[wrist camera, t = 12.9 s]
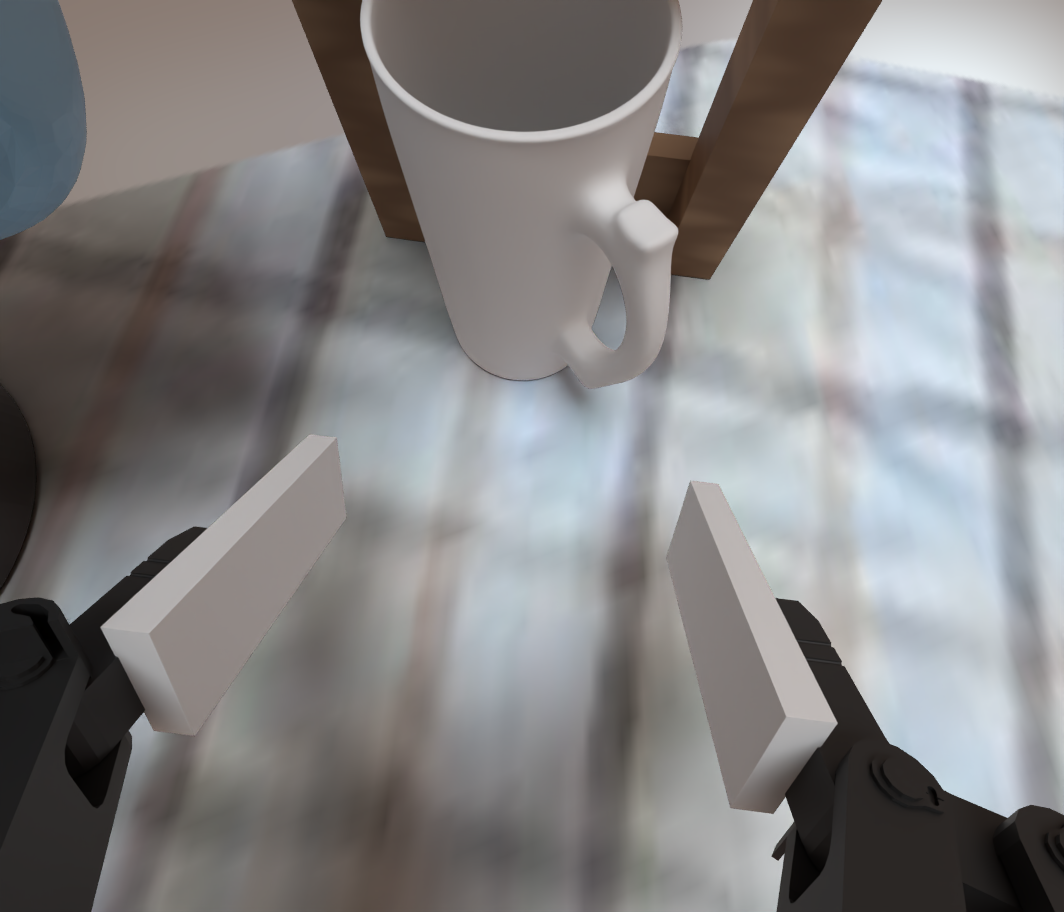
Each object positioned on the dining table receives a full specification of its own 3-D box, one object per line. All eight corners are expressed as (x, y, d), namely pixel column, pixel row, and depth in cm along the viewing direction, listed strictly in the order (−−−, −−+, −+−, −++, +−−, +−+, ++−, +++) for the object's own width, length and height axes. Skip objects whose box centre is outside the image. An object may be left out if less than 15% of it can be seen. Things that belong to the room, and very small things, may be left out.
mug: (421, 296, 22) (303, -31, 10) (544, 231, 23) (566, -134, 11) (539, 478, 20) (563, 331, 8) (669, 398, 21) (857, 163, 9)
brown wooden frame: (368, 306, 21) (-301, -871, 4) (401, 177, 23) (41, -1013, 6) (705, 352, 21) (1553, -704, 4) (712, 217, 23) (1299, -908, 6)
